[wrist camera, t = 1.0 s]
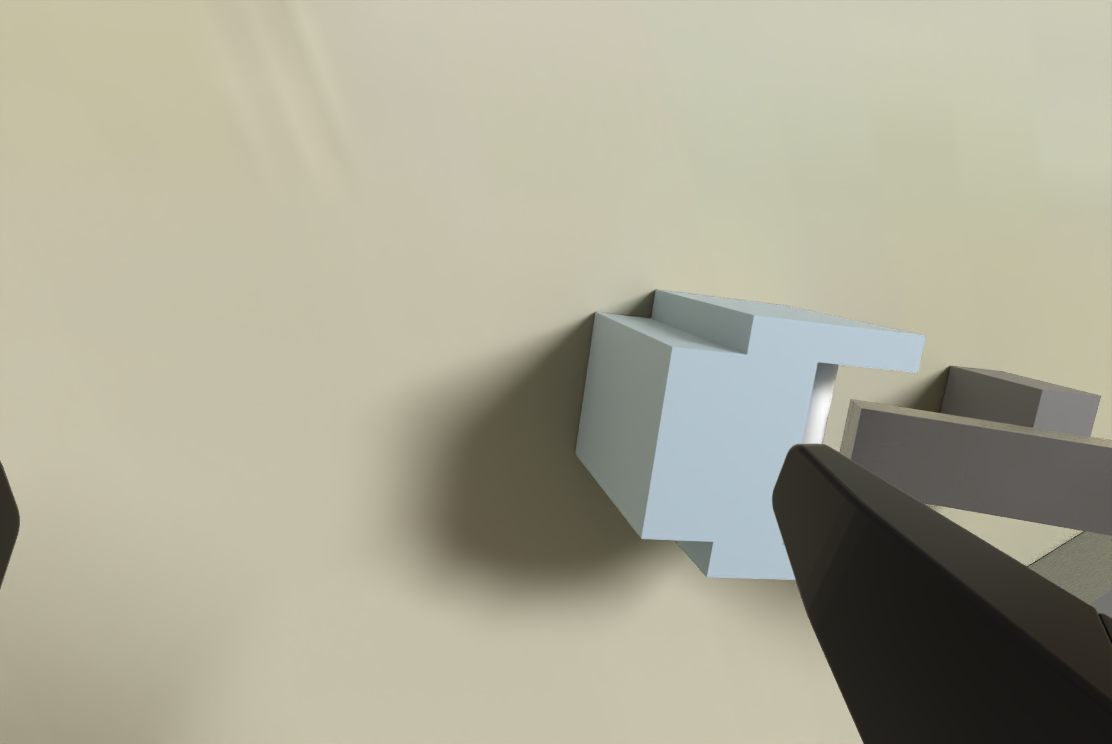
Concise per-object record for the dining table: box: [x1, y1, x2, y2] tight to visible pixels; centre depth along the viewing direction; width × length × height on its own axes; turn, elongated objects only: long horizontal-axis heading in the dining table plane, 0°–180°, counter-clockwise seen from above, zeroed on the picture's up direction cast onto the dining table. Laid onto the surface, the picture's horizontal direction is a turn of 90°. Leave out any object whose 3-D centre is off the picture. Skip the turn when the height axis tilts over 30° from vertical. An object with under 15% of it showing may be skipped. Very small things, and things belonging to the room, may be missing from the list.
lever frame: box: [575, 289, 1101, 580], centre depth 24 cm, size 7×17×7 cm, turn 82°
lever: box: [840, 399, 1112, 536], centre depth 21 cm, size 4×14×2 cm, turn 82°
